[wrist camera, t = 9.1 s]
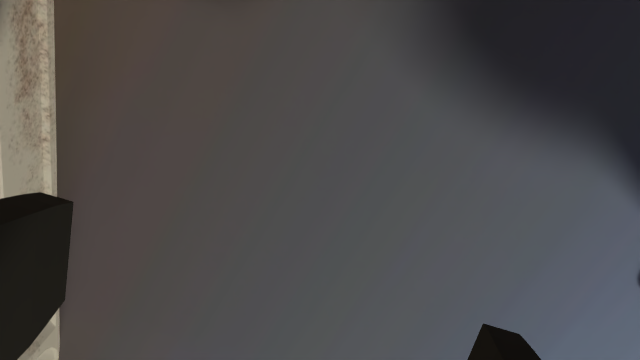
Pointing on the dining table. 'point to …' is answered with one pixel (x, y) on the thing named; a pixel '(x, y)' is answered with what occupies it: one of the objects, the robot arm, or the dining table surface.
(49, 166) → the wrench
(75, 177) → the dining table surface
